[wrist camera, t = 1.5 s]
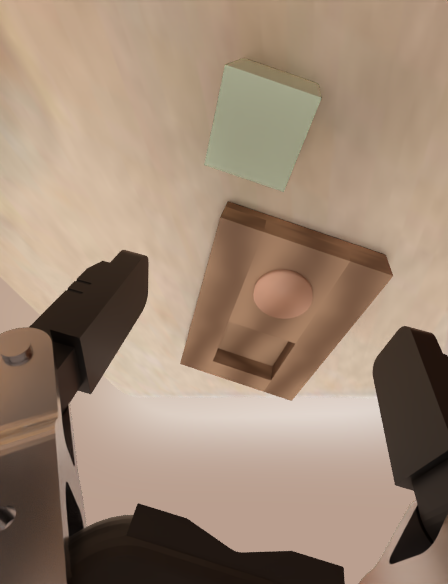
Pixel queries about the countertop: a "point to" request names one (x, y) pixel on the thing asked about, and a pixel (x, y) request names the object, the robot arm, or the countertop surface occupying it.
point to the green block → (261, 122)
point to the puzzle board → (264, 335)
